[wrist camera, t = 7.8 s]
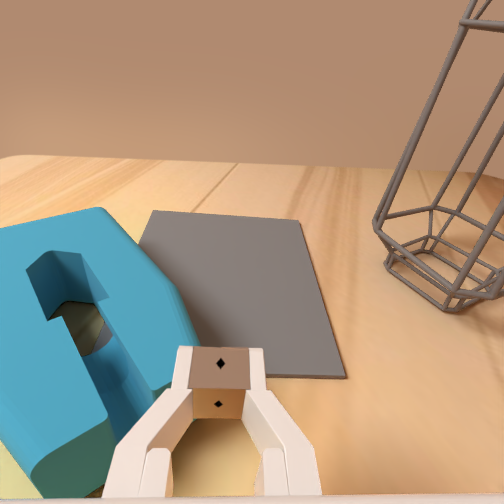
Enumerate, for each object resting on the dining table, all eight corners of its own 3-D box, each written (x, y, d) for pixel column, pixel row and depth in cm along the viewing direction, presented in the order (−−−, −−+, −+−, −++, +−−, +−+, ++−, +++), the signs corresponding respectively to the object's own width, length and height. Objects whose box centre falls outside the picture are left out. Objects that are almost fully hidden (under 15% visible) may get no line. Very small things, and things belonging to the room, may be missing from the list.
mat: (85, 372, 22) (84, 369, 22) (153, 213, 40) (153, 210, 39) (344, 379, 23) (345, 375, 23) (297, 222, 41) (298, 220, 41)
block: (232, 394, 21) (114, 249, 33) (236, 342, 18) (106, 204, 30) (13, 547, 14) (-34, 293, 26) (-35, 502, 11) (-63, 242, 24)
